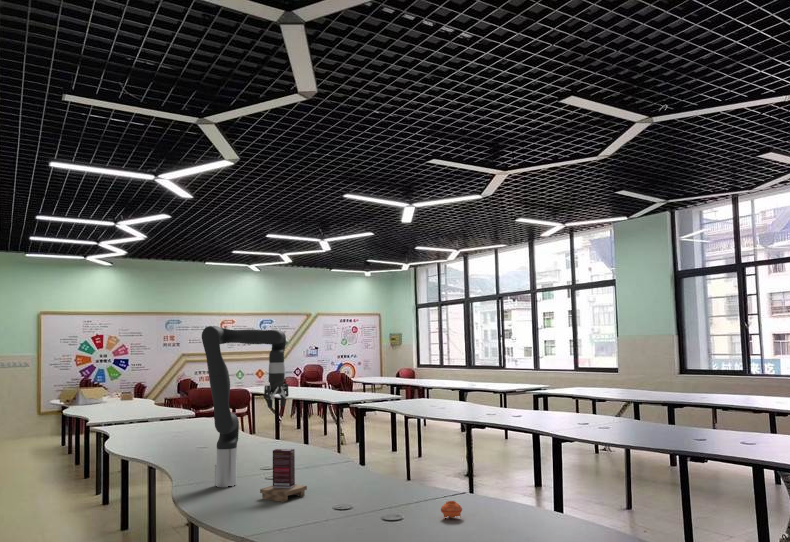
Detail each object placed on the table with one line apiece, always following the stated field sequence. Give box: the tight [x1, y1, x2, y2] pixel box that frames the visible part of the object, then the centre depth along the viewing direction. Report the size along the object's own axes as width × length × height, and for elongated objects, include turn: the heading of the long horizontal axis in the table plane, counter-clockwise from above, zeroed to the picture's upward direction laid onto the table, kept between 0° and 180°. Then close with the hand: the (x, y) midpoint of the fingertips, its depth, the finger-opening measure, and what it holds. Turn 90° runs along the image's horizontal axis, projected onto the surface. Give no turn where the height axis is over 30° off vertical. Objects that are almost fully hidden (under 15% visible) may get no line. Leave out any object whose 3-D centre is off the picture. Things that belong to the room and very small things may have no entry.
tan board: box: [259, 484, 308, 503], centre depth 268 cm, size 14×14×4 cm
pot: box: [440, 500, 463, 518], centre depth 230 cm, size 8×8×7 cm
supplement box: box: [272, 448, 296, 489], centre depth 269 cm, size 9×5×16 cm, turn 76°
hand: (276, 407), depth 294 cm, fingers open, 8 cm apart
